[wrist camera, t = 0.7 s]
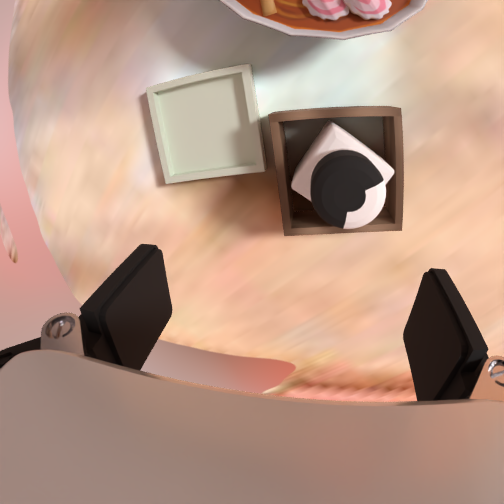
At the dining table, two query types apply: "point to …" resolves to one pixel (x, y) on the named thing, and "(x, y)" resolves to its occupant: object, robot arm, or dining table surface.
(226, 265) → the dining table surface
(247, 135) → the tray
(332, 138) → the medicine bottle
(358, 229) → the holder
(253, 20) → the ramen bowl
